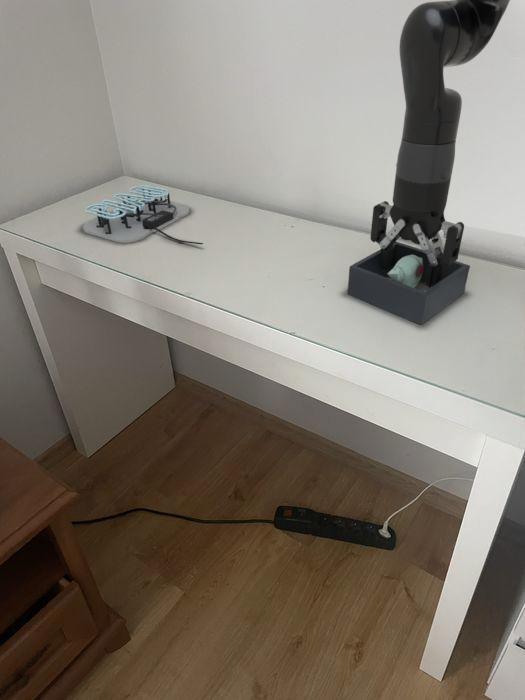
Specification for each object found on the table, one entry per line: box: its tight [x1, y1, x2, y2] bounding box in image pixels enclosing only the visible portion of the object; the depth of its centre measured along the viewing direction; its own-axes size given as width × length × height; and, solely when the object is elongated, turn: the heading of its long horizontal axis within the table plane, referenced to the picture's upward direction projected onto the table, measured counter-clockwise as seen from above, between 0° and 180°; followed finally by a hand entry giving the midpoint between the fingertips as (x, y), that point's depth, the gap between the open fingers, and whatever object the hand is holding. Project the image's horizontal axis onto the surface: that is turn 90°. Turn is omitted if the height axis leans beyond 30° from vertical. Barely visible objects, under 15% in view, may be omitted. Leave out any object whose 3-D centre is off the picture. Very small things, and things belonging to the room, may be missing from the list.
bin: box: [347, 241, 471, 326], centre depth 83 cm, size 14×13×5 cm
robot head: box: [387, 255, 423, 288], centre depth 83 cm, size 8×4×7 cm, turn 135°
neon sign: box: [82, 184, 204, 245], centre depth 109 cm, size 21×4×29 cm
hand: (407, 276), depth 83 cm, fingers open, 7 cm apart
